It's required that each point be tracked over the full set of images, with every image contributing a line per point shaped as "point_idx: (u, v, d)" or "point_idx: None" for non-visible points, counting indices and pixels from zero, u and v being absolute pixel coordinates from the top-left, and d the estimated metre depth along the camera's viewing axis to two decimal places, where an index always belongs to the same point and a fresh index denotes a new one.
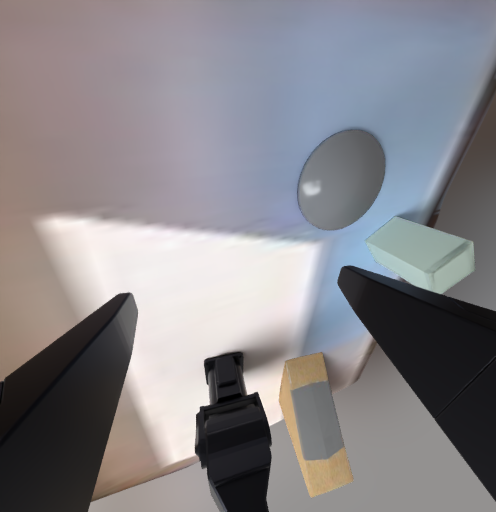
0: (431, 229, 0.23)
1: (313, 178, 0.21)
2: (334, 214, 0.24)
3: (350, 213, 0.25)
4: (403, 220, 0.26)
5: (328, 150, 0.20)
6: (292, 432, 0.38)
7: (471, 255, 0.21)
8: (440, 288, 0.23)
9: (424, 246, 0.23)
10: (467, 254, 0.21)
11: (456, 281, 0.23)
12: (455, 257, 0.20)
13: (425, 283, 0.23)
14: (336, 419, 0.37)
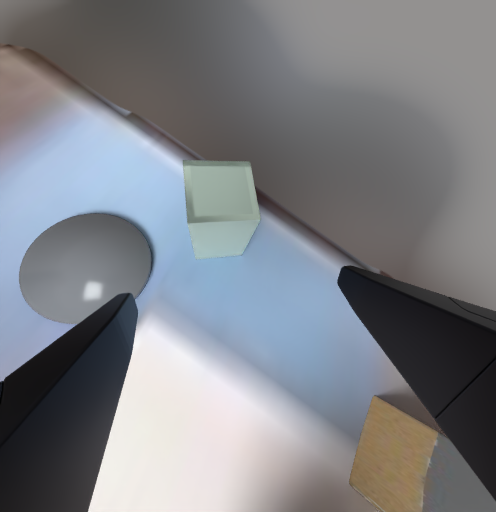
0: None
1: (45, 294, 0.18)
2: (115, 286, 0.19)
3: (133, 267, 0.20)
4: None
5: (32, 266, 0.18)
6: None
7: (210, 164, 0.15)
8: (243, 209, 0.14)
9: None
10: (202, 168, 0.15)
11: (249, 186, 0.15)
12: (191, 183, 0.14)
13: (226, 226, 0.15)
14: None
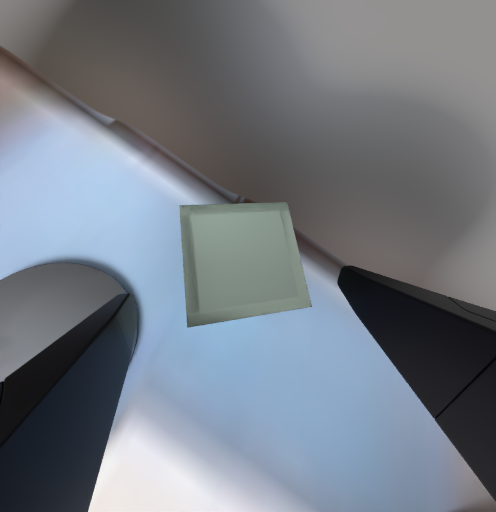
0: None
1: None
2: None
3: None
4: None
5: None
6: None
7: (225, 209, 0.09)
8: (282, 290, 0.08)
9: None
10: (212, 218, 0.09)
11: (289, 246, 0.09)
12: (194, 246, 0.08)
13: None
14: None
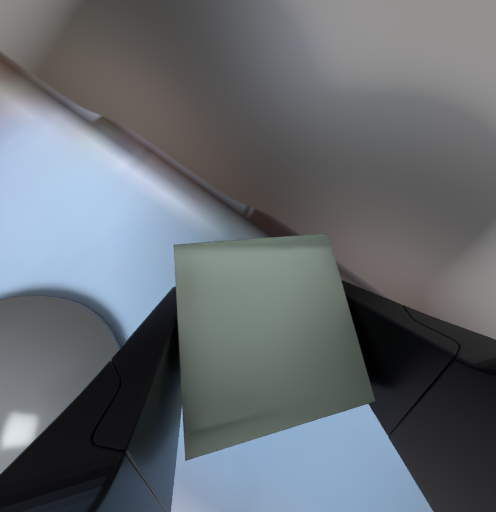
0: None
1: None
2: None
3: None
4: None
5: None
6: None
7: (242, 248, 0.06)
8: (330, 376, 0.06)
9: None
10: (223, 263, 0.06)
11: (336, 302, 0.06)
12: (196, 311, 0.05)
13: None
14: None
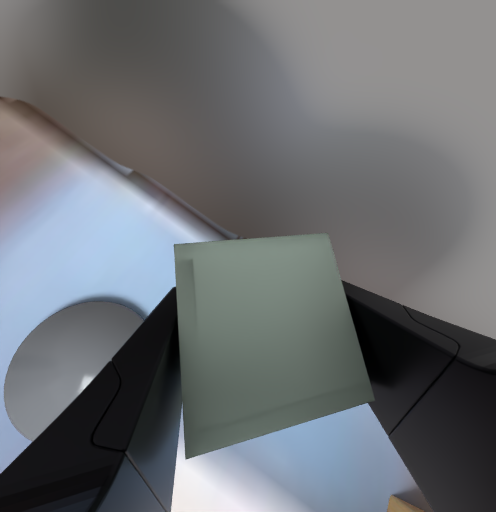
0: None
1: (33, 411, 0.15)
2: None
3: None
4: None
5: (19, 375, 0.16)
6: None
7: (242, 247, 0.06)
8: (330, 375, 0.06)
9: None
10: (223, 263, 0.06)
11: (336, 302, 0.06)
12: (196, 310, 0.05)
13: None
14: None
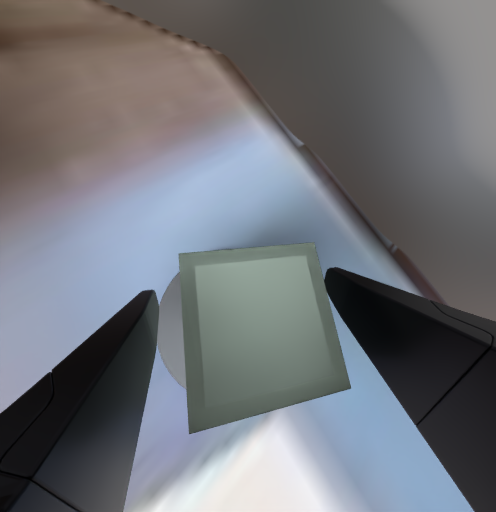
0: None
1: (179, 342, 0.14)
2: None
3: None
4: None
5: (174, 300, 0.15)
6: None
7: (238, 256, 0.07)
8: (313, 366, 0.06)
9: None
10: (221, 269, 0.07)
11: (319, 303, 0.07)
12: (198, 311, 0.06)
13: None
14: None
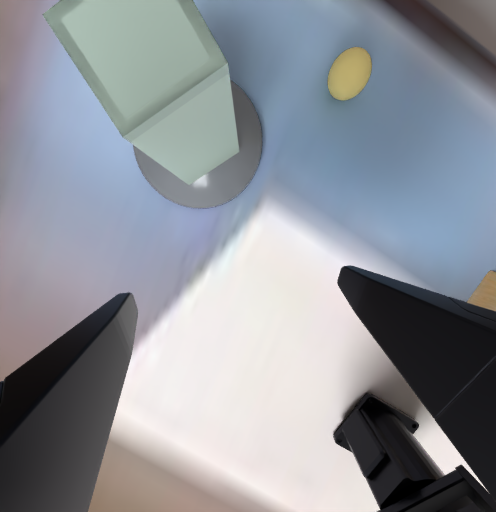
0: None
1: (166, 178, 0.17)
2: (229, 166, 0.17)
3: (243, 142, 0.17)
4: None
5: None
6: None
7: None
8: (191, 59, 0.08)
9: None
10: (82, 10, 0.08)
11: None
12: (84, 56, 0.08)
13: (182, 110, 0.09)
14: None
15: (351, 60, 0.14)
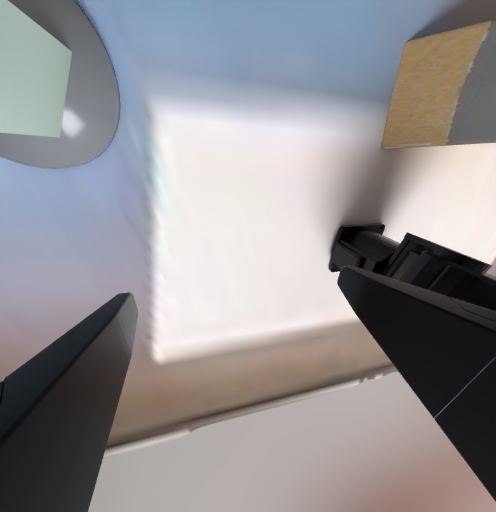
0: None
1: (29, 145, 0.14)
2: (79, 82, 0.13)
3: (65, 32, 0.12)
4: None
5: None
6: None
7: None
8: None
9: None
10: None
11: None
12: None
13: None
14: None
15: None
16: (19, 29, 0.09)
